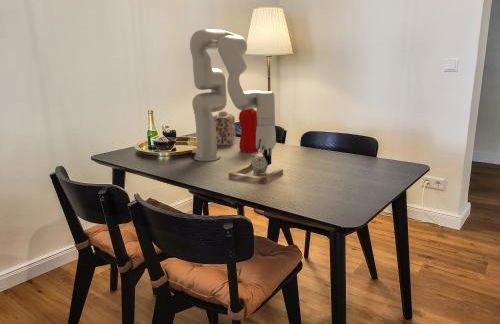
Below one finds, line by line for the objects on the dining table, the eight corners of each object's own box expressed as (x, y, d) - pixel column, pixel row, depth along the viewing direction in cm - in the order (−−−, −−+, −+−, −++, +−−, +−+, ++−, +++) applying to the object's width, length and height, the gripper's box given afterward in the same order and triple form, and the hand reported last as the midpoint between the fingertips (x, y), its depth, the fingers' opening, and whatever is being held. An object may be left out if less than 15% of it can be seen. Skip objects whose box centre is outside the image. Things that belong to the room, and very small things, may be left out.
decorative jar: (216, 141, 235) (214, 110, 230) (235, 141, 233) (234, 110, 229) (212, 145, 223) (210, 113, 218) (232, 145, 222) (231, 113, 217)
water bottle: (247, 154, 202) (246, 104, 196) (237, 150, 211) (236, 102, 205) (263, 152, 207) (262, 103, 200) (252, 147, 216) (251, 101, 209)
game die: (261, 183, 169) (262, 171, 161) (244, 173, 171) (244, 161, 163) (272, 168, 173) (274, 155, 165) (256, 159, 176) (256, 146, 167)
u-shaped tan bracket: (228, 177, 165) (228, 173, 165) (248, 168, 178) (248, 164, 177) (264, 184, 157) (264, 179, 156) (282, 173, 169) (282, 169, 169)
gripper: (266, 118, 176) (268, 159, 180) (249, 123, 163) (250, 167, 168) (282, 119, 172) (283, 160, 176) (265, 124, 160) (266, 169, 164)
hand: (267, 164), depth 172 cm, fingers closed
